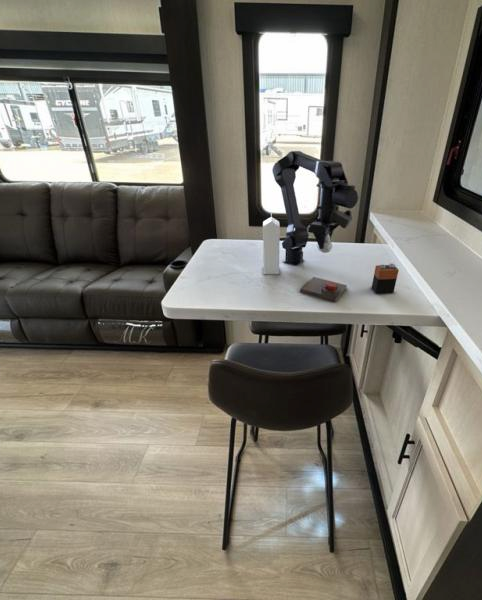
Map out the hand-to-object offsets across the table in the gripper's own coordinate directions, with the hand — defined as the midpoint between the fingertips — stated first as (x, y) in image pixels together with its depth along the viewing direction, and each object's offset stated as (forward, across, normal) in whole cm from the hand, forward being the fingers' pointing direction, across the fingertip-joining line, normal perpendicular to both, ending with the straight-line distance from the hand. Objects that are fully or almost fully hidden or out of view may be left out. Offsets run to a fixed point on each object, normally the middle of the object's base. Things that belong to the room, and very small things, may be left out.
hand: (324, 246), depth 111 cm
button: (+9, -13, -8) cm, 18 cm away
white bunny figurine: (+2, 0, 0) cm, 2 cm away
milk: (+12, -6, +19) cm, 23 cm away
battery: (+12, 0, -23) cm, 26 cm away
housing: (+12, -10, -5) cm, 17 cm away
